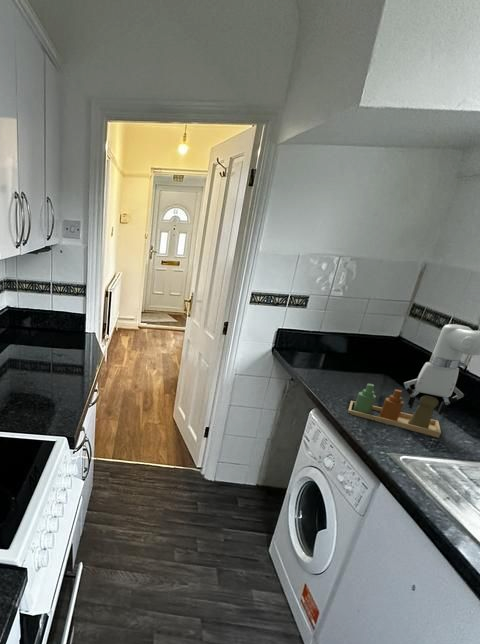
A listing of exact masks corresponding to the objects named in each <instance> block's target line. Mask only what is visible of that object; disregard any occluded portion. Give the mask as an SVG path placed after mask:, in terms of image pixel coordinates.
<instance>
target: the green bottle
mask: <svg viewBox="0 0 480 644" xmlns="http://www.w3.org/2000/svg"><path fill="white" fill-rule="evenodd" d="M374 387H375V384H373V383H367V384H366V388H364V389H362V391H358V393H357V398H356V400H355V402H356V403H355V405H354V406H353V409H352V410H353V411H357V412H361V413H365V414H369V415H371V413H372V411H373V409H372V407H373V406H374V405H375V401H376V399H377V396H376V395H375V391H374Z"/></svg>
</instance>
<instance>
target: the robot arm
mask: <svg viewBox="0 0 480 644" xmlns="http://www.w3.org/2000/svg"><path fill="white" fill-rule="evenodd" d="M463 355H467V356H480V330H473V329H472V328H471V327H470V326H466V325H462V324H454V323H449V324H445V325H444V326H443V327H442V328H441V331H440V333H439V336H438V338H437V341H436V344H435V346H434V348H433V351H432V353H431V356H430V359H429V361H426V362H425V363H424V364H423V366H422V368H421V370H420V372H419V373H418V376H417V377H416V378H414V379H411V380H408V381H404V382H403V386H404V388H405V391H406V393H408V395H409V398H408V401H407V405H408V408H409V409H413V405H414V403H415V400H416V396H418V395H419V394H421V393H422V394H425V395H426V394H427V395H430V396H431V395H432V396H435V397H442V399H443V401H441V403H440V405H439V406H438V410H437V414H438V416H439V415H440V416H441V415H442V413H445V412H446V410H447V407H448V405H450V404H451V403H454V402H457V401H458V400H460V399H463V398H464V396H465V395H464V393H463V392H462V391H461V390H460V389H459V388H457V386H456V384H457V381H458V377H459V371H460V368H459V367H465V364H466V362H465V361H463V360H462V357H463ZM412 385H414V389H413V388H411V386H412ZM453 392H454V393H455V394H456V395H454V396H452V395H453Z"/></svg>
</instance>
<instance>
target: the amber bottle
mask: <svg viewBox="0 0 480 644" xmlns="http://www.w3.org/2000/svg"><path fill="white" fill-rule="evenodd" d="M402 393H403V390H401V389H394V391H393V394H390V395H389V397H385V399H384V402H383V404H382V406H381V408H382V410H381V412H380V413H379V414H378V415H379V416H378V417H382V418H386V419H390V420H394V421H397V420H398V417H399V415H400V412H402V410H403V407H404V404H405V402H404V401H403V397H402Z"/></svg>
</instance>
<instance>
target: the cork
mask: <svg viewBox="0 0 480 644" xmlns="http://www.w3.org/2000/svg"><path fill="white" fill-rule="evenodd" d="M418 402H419V405H417V408H416V410H415V411H414V412H413V414H411V415H412V417H411V418H410V420H409V421H408V424H411V425H415V426H419V427H423V428H427V429H428V427H429V424H430V420H431V419H432V417H433V413H434V410H435V408H437V407H438V406H439V400H438V398H436V397H435V396H431V395H423V396H421V397H420V398H419V401H418Z"/></svg>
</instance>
